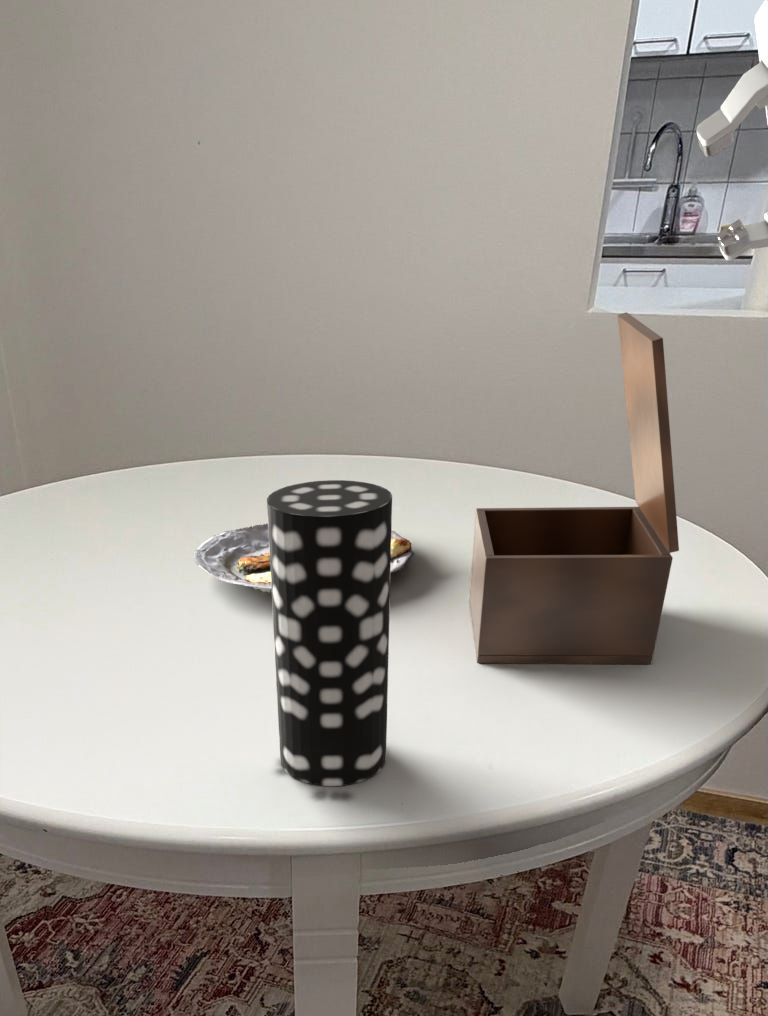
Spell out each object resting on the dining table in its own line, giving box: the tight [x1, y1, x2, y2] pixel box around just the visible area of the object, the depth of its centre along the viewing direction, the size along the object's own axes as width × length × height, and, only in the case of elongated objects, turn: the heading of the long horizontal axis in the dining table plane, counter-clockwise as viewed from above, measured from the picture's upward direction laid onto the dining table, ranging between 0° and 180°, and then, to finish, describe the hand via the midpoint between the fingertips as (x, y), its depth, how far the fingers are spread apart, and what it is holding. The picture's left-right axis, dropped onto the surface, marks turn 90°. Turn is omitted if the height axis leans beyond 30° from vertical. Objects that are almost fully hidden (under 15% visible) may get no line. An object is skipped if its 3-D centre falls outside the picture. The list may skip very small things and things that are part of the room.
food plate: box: [193, 523, 415, 593], centre depth 109 cm, size 25×23×4 cm
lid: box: [617, 311, 680, 554], centre depth 81 cm, size 17×15×1 cm
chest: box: [468, 506, 674, 665], centre depth 90 cm, size 16×15×10 cm
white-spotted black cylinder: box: [266, 479, 393, 787], centre depth 69 cm, size 8×8×20 cm
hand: (711, 199), depth 69 cm, fingers open, 8 cm apart
